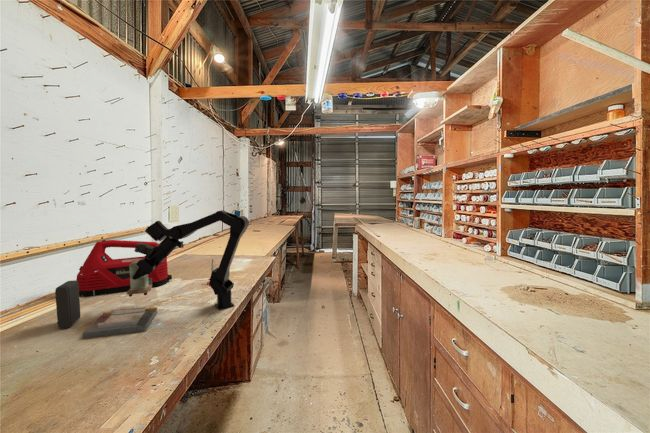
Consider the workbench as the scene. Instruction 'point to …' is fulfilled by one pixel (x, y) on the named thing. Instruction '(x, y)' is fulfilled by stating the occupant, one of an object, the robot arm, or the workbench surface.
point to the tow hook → (212, 268)
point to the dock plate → (121, 322)
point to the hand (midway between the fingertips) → (135, 277)
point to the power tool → (114, 270)
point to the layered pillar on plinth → (138, 282)
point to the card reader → (67, 304)
